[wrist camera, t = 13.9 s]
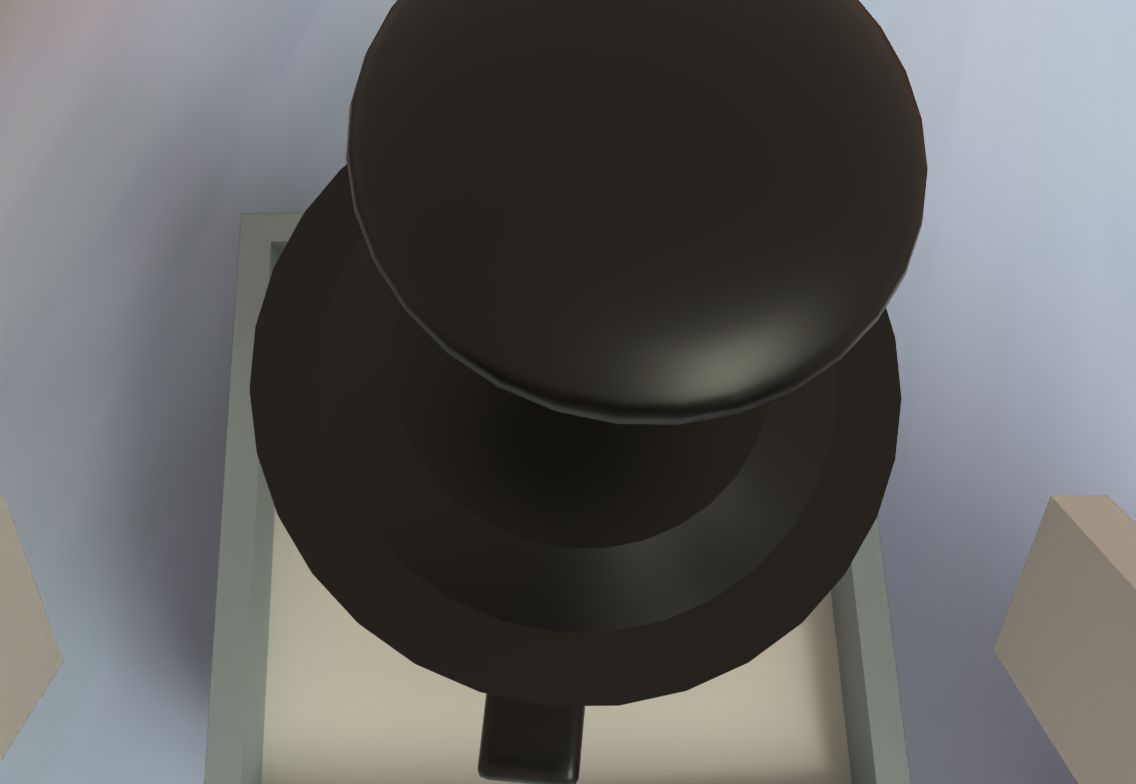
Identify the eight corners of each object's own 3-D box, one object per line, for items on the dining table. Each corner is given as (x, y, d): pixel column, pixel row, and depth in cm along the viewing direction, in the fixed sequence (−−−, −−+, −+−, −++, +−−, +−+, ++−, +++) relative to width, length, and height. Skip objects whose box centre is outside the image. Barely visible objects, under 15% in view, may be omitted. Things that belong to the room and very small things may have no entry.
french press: (424, 335, 29) (126, -541, 7) (695, 365, 30) (1244, -382, 7) (370, 696, 26) (-444, 1185, 4) (672, 725, 27) (1480, 1332, 4)
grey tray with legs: (771, 294, 37) (839, 209, 29) (821, 795, 32) (919, 855, 24) (301, 299, 36) (240, 213, 28) (277, 823, 31) (196, 895, 23)
